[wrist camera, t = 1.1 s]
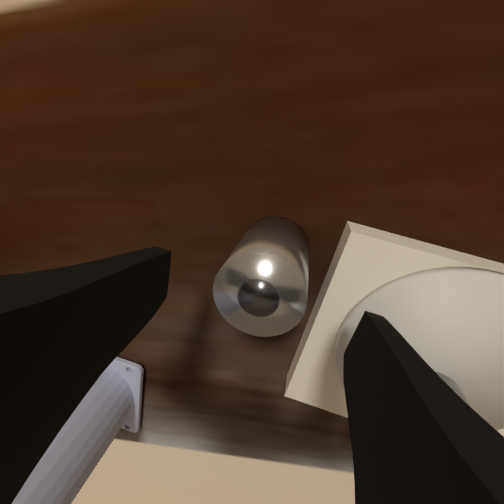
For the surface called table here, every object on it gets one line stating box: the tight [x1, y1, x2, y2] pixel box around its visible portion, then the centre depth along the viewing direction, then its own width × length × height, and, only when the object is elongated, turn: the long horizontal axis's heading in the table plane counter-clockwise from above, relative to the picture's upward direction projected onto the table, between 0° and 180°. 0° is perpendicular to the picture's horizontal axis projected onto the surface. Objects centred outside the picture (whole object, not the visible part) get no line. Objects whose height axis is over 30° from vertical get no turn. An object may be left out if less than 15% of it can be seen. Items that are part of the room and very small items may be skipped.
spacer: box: [213, 216, 310, 337], centre depth 12 cm, size 4×4×5 cm
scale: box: [284, 221, 504, 437], centre depth 14 cm, size 12×11×2 cm
